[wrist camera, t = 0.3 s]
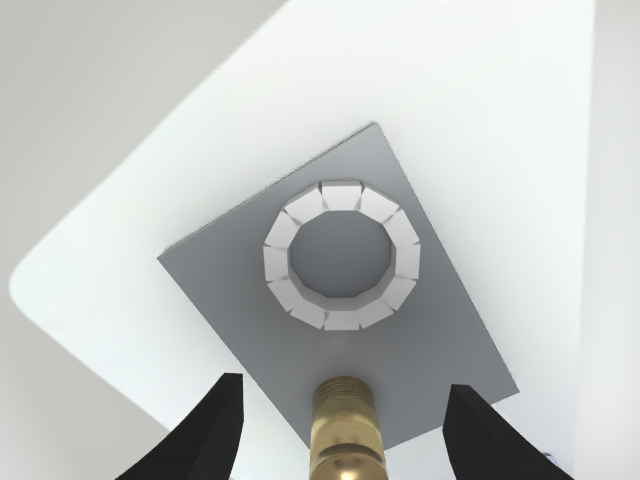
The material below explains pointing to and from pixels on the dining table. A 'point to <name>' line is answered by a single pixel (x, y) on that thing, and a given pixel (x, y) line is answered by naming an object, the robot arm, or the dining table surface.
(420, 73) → the dining table surface
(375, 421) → the brass shaft
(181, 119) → the dining table surface
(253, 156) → the dining table surface
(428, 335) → the housing plate
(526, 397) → the dining table surface
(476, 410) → the robot arm
